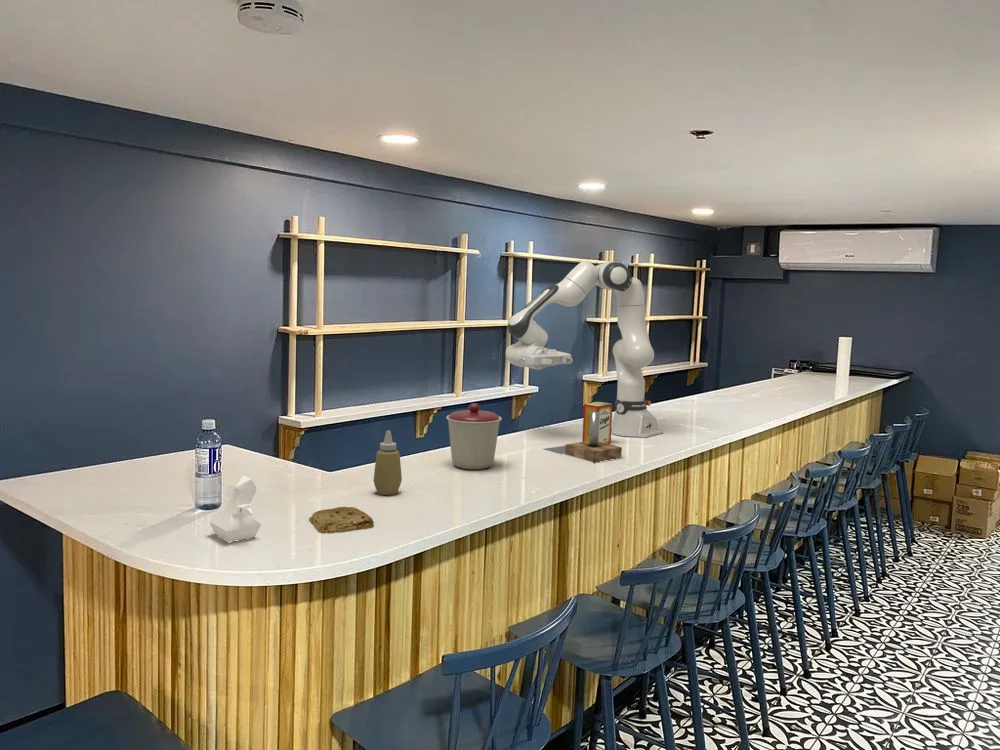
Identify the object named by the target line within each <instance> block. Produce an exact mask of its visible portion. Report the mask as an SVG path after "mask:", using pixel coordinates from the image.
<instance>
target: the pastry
mask: <svg viewBox="0 0 1000 750" xmlns="http://www.w3.org/2000/svg"><path fill="white" fill-rule="evenodd" d="M308 521H309V522H310V523H311V524H312V525H313V527H314V526H315V527H314V529H315V530H316V531H317V530H318V531H317V532H318V533H320V532H321V533H320V534H325V533H328V534H336V533H335V532H340V533H346V531H347V532H350V531H351V532H352V531H357V530H358V529H359V530H365V529H370V528H374V524H375V523H374V520H373V518H372V517H371V516H370V515H369V514H367V513H366V512H364V511H362V510H361V509H358V508H357V507H355V506H350V507H349V506H338V507H333V508H327V509H321V510H317V511H315V512H313V513H312V515H311V516H310V517H309V518H308Z"/></svg>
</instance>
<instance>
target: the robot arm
mask: <svg viewBox="0 0 1000 750" xmlns="http://www.w3.org/2000/svg"><path fill="white" fill-rule="evenodd" d="M594 287H596V288H598V289H600V290H601V289H602V290H608V291H612V290H613V291H614V292H615V295H616V296H615V297H616V307H617V308H616V311H617V326H618V329H619V330H620V334H621V339H619V340H617V341H616V342H615V343H614V345H613V347H612V355H613V357H614V362H615V369H616V377H617V387H616V388H617V390H616V391H617V392H616V399H615V406H614V407H615V411H614V416H613V421H612V422H613V423H612V427H611V434H613V435H616V436H621V437H622V436H623V437H638V438H649V437H653V436H657V435H661V434H664V430H662V429H660V428H658V420H657V418H656V417H655V416H654V414H653V413H651V412H650V411H649V410H648V409H647V408H648V407H650V406H651V405H652V402H651V400H645V392H646V391H645V390H646V389H645V387H646V380H645V378H644V376H643V375H644V374H643V370H642V368H645V367H648V366H649V365H651V364H652V363H653V361H654V359H655V351H654V348H653V347H652V344H651V341H650V336H649V333H648V330H647V322H646V307H645V306H646V305H645V303H646V302H645V293H644V288H643V284H642V282H641V280H640V279H638V278H636V277H633V276H632V274H631V273H630V271H629V269H628V267H627V266H626V265H625V264H623V263H622V262H619V261H606V262H602V263H598V264H596V265H594V264H593V263H592V262H589V261H586V260H585V261H581V262H579V263H578V264H577V265H576V266H574V268H572V269H571V270H570V271H569V273H568V274H567V275H566V276H565V277H564V278H563V279H562V280H561V281H559V282H558V283H556V284H554V283H553V284H550V285H548V286H546V287H545V288H544V289H543V290H542V291H540V292H539V293H538V294H537V295H536V296H535V297H534V298H532V299H531V301H529V302H528V303H526V305H525V306H524V307H523V308H521V309H520V310H518V311H517V312H516V313H514V314H513V315H512V316H510V318H509V319H508V321H507V332H508V333H509V335H511V336H513V337H514V338H515V339H517V340H518V341H517V342H516V343H514V344H510V345H508V346H507V347H506V350H505V359H506V360H507V361H508V362H509V363H510V364H511V365H513V366H517V367H521V368H527V369H531V370H532V369H533V370H537V371H538V370H543V369H545V368H548V367H553V366H557V365H571V364H572V363H573V358H572V356H573V355H572V354H571V353H567V352H563V351H559V350H557V349H556V348H546V347H547V346H548V342H549V334H548V332H547V331H546V330H545V329H544V328H543V327H542V326H541V325H539V324H538V323H537V322H536V321H535V320H534V317H535V316H536V315H537V314H538V313H540V312H541V311H542V310H543V309H544V308H545V307H546V306H547V305H550V304H551V303H552V304H554V303H555V304H557V305H558V304H559V305H562V306H564V307H575V306H577V305H579V304H581V302H582V301H583V300H584V299H585V298H586V296H587V295H588V294H589V293H590V291H591V290H592V289H594ZM647 406H648V407H647Z"/></svg>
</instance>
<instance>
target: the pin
mask: <svg viewBox="0 0 1000 750" xmlns="http://www.w3.org/2000/svg"><path fill="white" fill-rule="evenodd" d="M599 414H600V413H599V412H590V434H589V447H592V448H596V447H598V437H599Z"/></svg>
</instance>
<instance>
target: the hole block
mask: <svg viewBox="0 0 1000 750" xmlns="http://www.w3.org/2000/svg"><path fill="white" fill-rule="evenodd" d="M564 446H565V454H564V455H566V456H569V457H573V458H577V459H579V460H584V461H588V462H591V463H592V462H593V463H592V464H596V463H595V462H597V463H601V462H600V461H603V462H605V461H604V460H609V461H611V460H610V459H615V460H617V459H616V458H621V459H622V447H621V446H618V445H613V444H606V443H602V442H598V447H596V448H592V447H589V441H586V442H582V441H580V442H572V443H567V444H565V445H564Z"/></svg>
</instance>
